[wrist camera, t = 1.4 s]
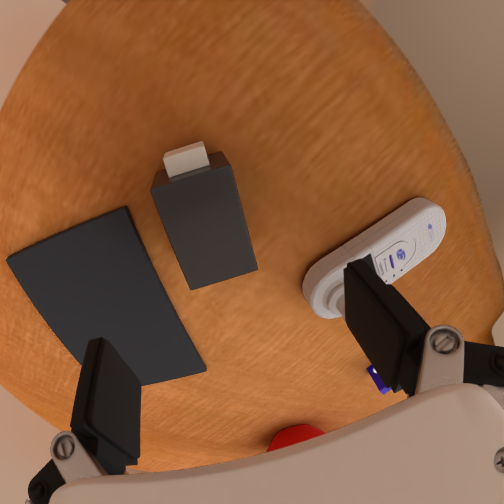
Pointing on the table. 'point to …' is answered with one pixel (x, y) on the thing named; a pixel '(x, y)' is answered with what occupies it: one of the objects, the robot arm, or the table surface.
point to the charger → (203, 216)
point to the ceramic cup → (293, 436)
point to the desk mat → (107, 296)
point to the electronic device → (377, 253)
